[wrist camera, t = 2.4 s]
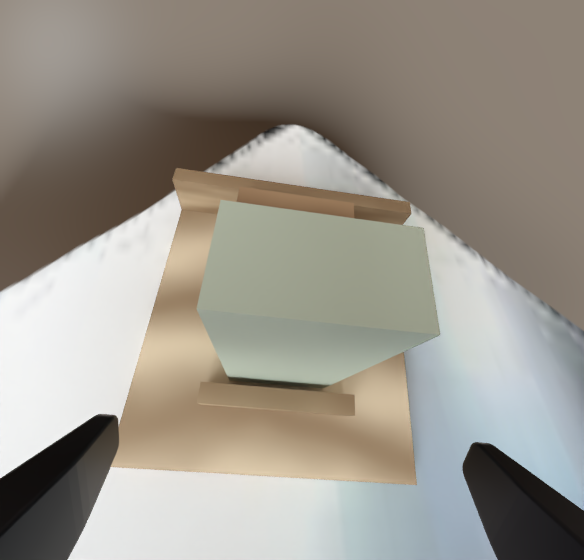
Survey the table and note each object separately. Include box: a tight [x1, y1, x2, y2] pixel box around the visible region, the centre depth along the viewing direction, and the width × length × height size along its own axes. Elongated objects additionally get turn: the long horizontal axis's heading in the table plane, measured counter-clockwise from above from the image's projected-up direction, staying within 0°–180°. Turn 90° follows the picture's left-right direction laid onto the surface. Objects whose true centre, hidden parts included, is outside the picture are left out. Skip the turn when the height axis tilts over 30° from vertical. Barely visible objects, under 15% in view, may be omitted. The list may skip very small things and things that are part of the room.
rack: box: [111, 168, 417, 485], centre depth 18 cm, size 17×16×4 cm
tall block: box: [197, 200, 440, 389], centre depth 13 cm, size 3×6×12 cm, turn 86°
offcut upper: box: [237, 187, 354, 218], centre depth 18 cm, size 6×7×2 cm
